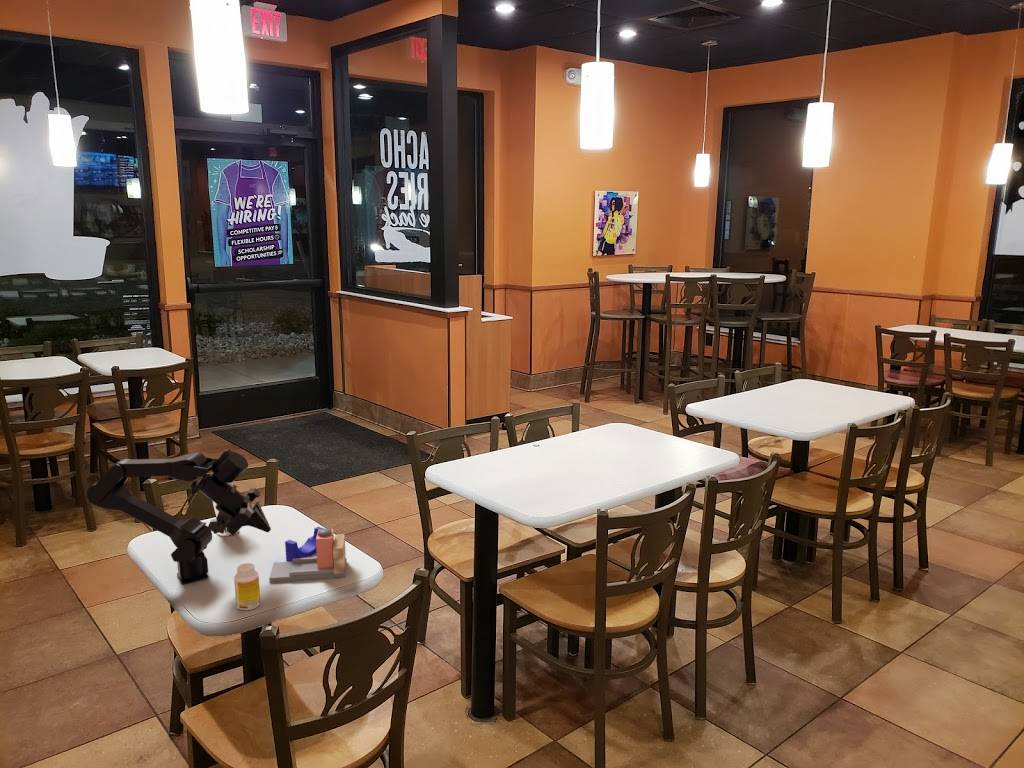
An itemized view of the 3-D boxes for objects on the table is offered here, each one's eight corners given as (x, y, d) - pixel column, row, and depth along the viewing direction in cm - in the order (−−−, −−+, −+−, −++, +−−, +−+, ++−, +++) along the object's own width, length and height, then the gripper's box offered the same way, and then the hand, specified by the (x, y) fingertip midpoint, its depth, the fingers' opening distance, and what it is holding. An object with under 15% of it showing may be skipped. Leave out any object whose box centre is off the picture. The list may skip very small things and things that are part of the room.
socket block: (334, 573, 198) (332, 548, 197) (336, 558, 207) (335, 534, 205) (343, 573, 199) (342, 548, 197) (345, 557, 207) (344, 534, 206)
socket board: (269, 582, 196) (268, 574, 196) (274, 566, 205) (273, 559, 204) (344, 577, 199) (344, 569, 199) (346, 561, 208) (346, 554, 207)
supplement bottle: (265, 605, 185) (262, 566, 183) (243, 613, 181) (240, 574, 179) (253, 597, 189) (250, 559, 186) (232, 605, 185) (228, 566, 182)
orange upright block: (317, 571, 199) (315, 536, 197) (319, 561, 205) (317, 527, 203) (333, 570, 200) (331, 535, 198) (334, 560, 205) (333, 526, 203)
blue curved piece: (315, 544, 219) (314, 525, 217) (326, 548, 216) (325, 528, 215) (282, 560, 209) (281, 540, 208) (293, 564, 206) (292, 544, 205)
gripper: (208, 501, 203) (254, 537, 207) (191, 530, 185) (242, 568, 189) (236, 472, 202) (282, 508, 207) (222, 497, 184) (273, 537, 189)
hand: (269, 530), depth 198 cm, fingers closed
